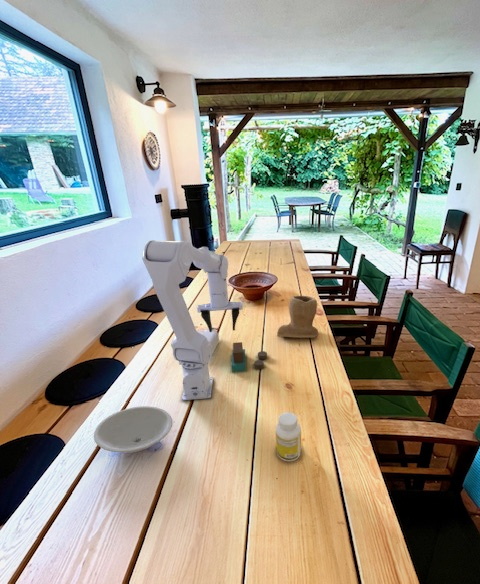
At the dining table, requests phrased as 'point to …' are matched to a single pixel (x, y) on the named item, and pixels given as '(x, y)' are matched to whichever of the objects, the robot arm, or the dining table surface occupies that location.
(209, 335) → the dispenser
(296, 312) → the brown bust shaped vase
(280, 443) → the supplement bottle
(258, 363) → the crumb
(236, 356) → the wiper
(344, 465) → the dining table surface
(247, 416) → the dining table surface
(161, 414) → the dish
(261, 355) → the crumb
